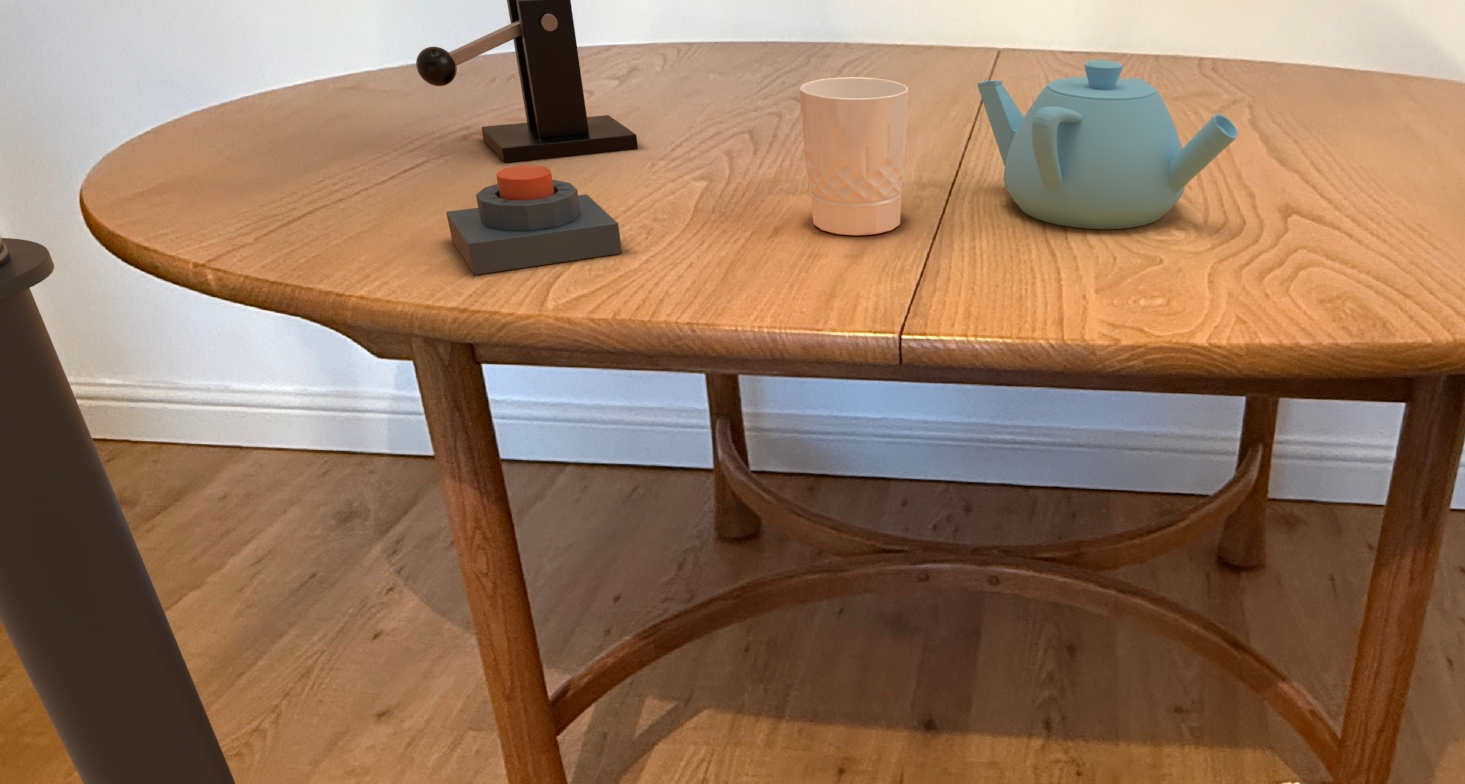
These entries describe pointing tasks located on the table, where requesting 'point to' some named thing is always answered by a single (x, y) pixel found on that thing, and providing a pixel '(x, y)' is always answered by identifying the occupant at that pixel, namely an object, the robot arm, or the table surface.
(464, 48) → the tap lever
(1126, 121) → the teapot
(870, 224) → the peach cup
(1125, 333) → the table surface
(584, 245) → the button block
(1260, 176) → the table surface
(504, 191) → the button
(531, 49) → the bracket
